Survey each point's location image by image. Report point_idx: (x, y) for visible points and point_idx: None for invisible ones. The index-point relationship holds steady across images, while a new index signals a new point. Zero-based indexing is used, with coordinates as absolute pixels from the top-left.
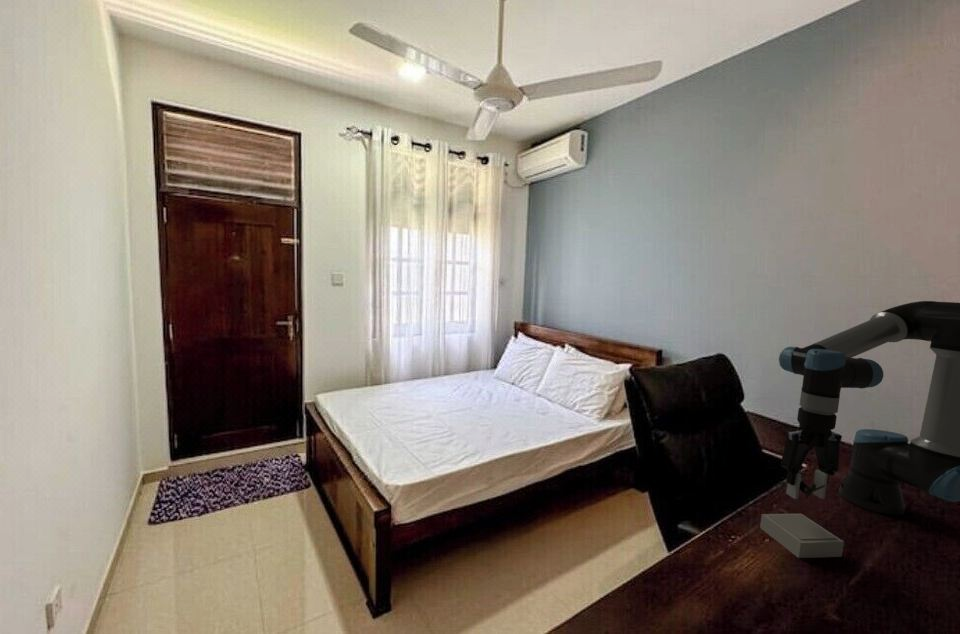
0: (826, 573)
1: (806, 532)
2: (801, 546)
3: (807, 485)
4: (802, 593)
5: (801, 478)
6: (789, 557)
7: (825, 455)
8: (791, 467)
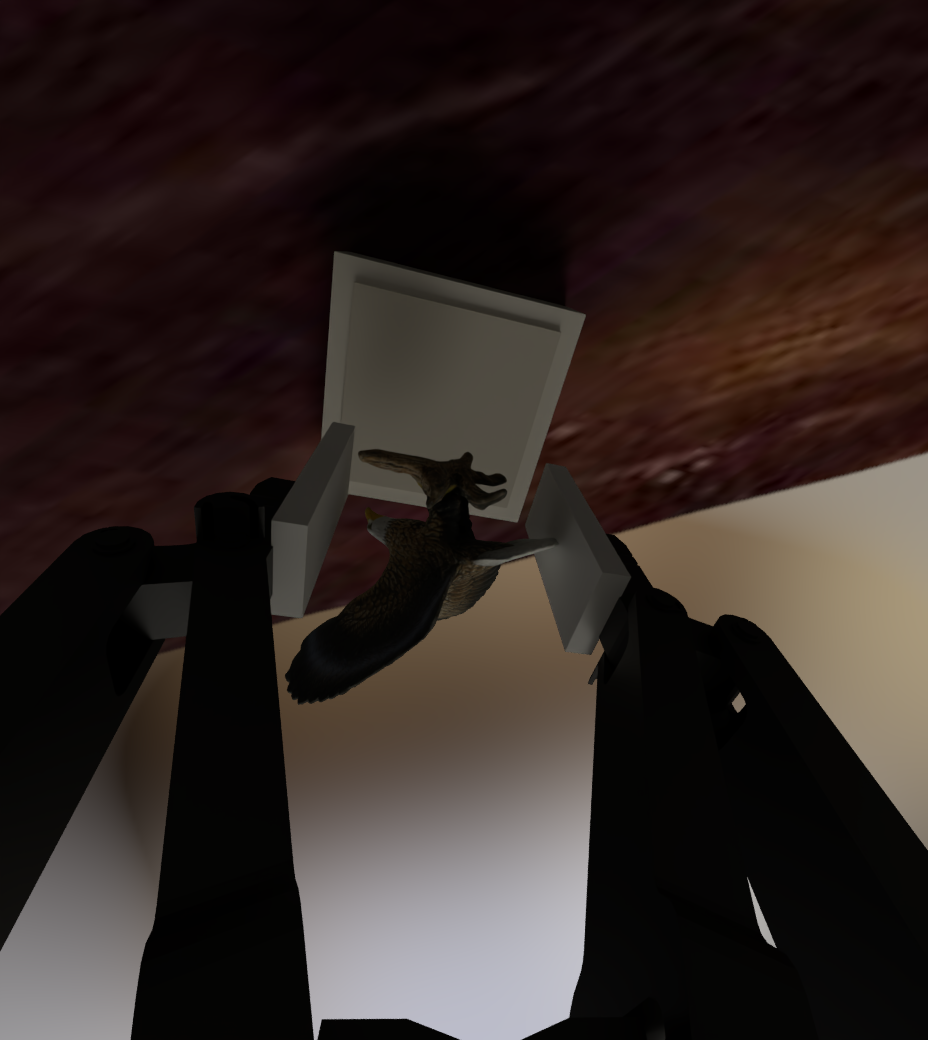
0: (560, 182)
1: (470, 365)
2: (573, 310)
3: (440, 517)
4: (826, 113)
5: (452, 578)
6: (598, 321)
7: (254, 760)
8: (752, 649)
